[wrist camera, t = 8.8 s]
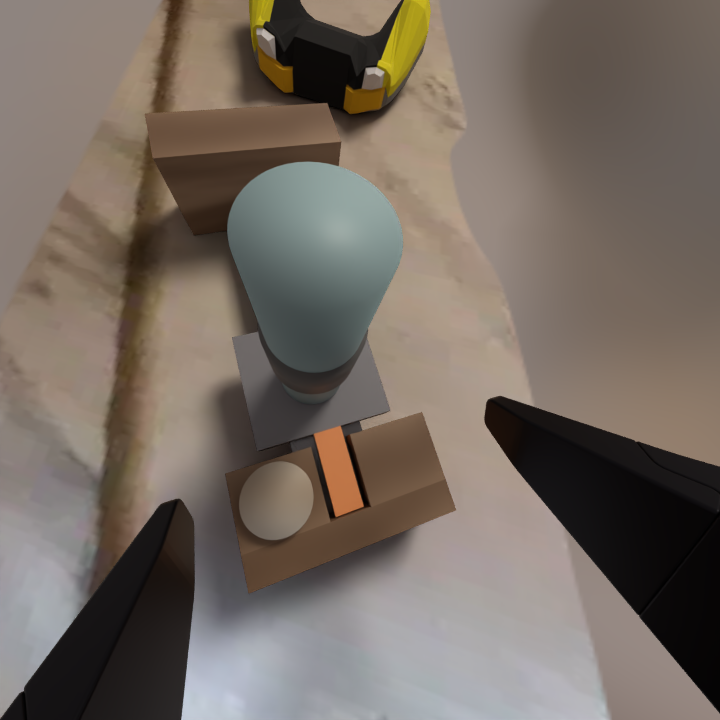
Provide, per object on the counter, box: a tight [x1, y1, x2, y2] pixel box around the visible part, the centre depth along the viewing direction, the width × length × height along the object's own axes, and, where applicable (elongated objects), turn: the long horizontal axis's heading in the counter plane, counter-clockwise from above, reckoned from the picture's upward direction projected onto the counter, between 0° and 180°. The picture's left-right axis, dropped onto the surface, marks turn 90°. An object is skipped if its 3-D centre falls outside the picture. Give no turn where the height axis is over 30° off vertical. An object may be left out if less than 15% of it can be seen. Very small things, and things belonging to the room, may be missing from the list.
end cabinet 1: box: [145, 103, 341, 235], centre depth 20 cm, size 3×10×6 cm, turn 107°
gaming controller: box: [249, 0, 431, 114], centre depth 26 cm, size 15×6×10 cm
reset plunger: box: [313, 426, 364, 517], centre depth 16 cm, size 4×1×1 cm, turn 17°
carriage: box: [227, 162, 403, 451], centre depth 12 cm, size 6×7×13 cm
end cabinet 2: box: [225, 412, 456, 593], centre depth 17 cm, size 5×10×4 cm, turn 107°
